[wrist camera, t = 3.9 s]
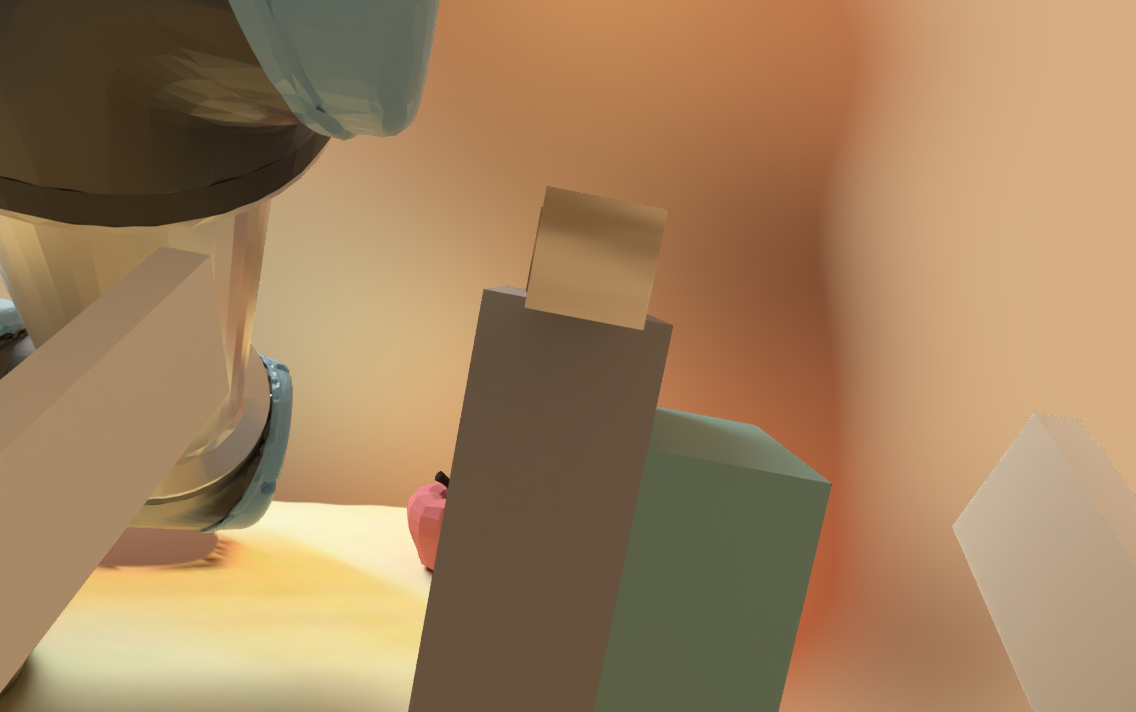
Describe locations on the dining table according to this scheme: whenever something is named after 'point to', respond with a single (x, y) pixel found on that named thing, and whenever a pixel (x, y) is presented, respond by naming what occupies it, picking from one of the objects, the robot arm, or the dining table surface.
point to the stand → (609, 534)
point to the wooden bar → (595, 258)
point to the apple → (427, 517)
